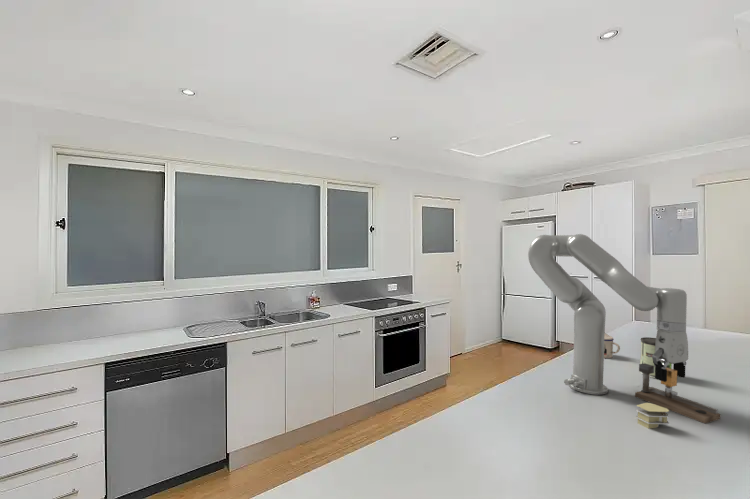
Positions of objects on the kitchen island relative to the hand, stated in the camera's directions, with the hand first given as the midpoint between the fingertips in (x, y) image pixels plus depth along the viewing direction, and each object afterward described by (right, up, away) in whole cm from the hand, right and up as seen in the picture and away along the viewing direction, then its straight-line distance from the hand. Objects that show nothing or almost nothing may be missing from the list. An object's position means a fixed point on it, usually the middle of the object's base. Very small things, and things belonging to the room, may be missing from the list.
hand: (670, 378), depth 121 cm
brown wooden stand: (0, -9, -2) cm, 9 cm away
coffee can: (+16, -9, +28) cm, 34 cm away
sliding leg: (+1, -7, +1) cm, 7 cm away
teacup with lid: (+11, -8, +52) cm, 53 cm away
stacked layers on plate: (-16, -9, -14) cm, 23 cm away
